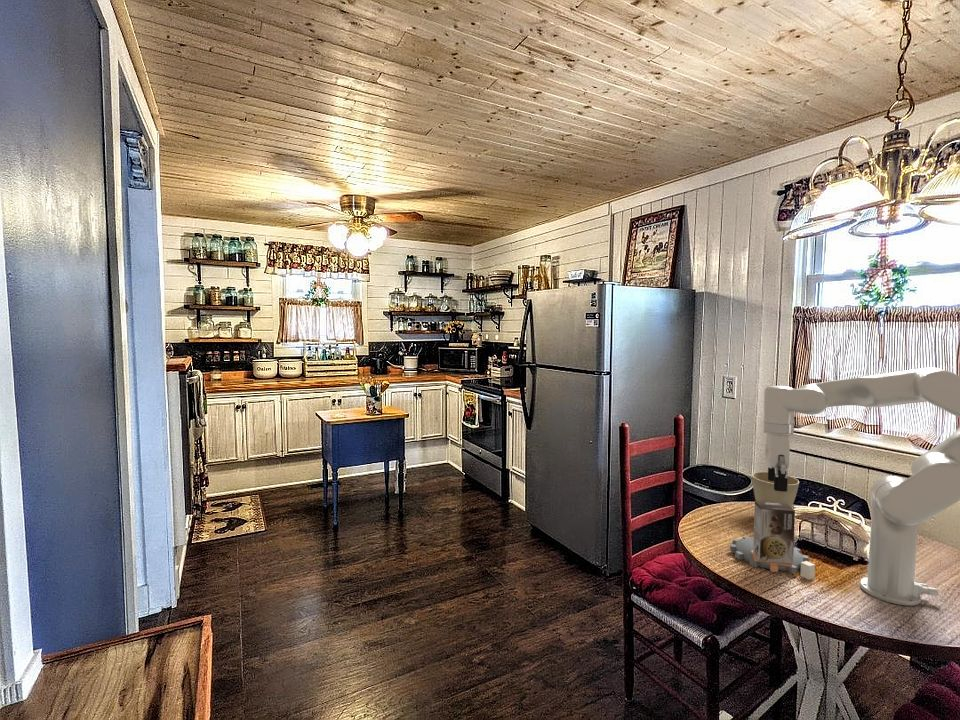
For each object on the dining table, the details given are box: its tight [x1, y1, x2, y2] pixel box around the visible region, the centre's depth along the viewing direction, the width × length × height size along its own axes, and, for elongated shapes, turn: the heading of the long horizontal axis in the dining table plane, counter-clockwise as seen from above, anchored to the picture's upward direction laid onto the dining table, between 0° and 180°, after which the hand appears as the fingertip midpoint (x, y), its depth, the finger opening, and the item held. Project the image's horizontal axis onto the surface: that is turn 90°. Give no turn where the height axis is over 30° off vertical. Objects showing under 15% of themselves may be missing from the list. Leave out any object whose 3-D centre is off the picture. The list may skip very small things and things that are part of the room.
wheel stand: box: [799, 561, 816, 581], centre depth 147 cm, size 15×15×4 cm
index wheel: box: [729, 535, 810, 574], centre depth 151 cm, size 21×22×6 cm
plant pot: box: [751, 471, 800, 507], centre depth 180 cm, size 15×15×16 cm
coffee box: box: [753, 500, 796, 564], centre depth 145 cm, size 9×6×16 cm
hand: (777, 485), depth 143 cm, fingers open, 9 cm apart
